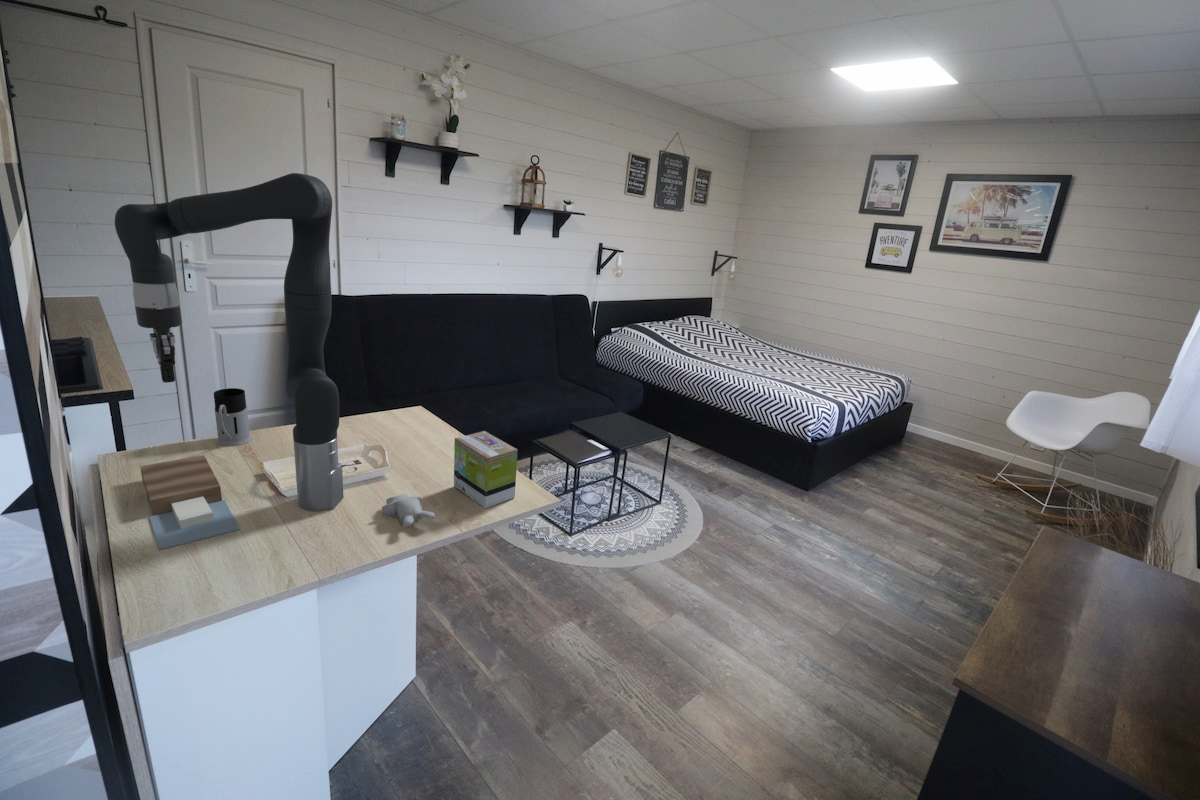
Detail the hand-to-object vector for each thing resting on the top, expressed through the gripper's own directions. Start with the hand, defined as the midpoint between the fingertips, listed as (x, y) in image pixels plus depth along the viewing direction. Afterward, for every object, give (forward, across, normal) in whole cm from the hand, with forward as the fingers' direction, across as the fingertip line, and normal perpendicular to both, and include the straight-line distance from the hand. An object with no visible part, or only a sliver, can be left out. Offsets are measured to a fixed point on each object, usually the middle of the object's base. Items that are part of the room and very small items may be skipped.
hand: (168, 381), depth 123 cm
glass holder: (+29, -28, +15) cm, 43 cm away
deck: (+29, -4, 0) cm, 29 cm away
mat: (+29, +14, 0) cm, 32 cm away
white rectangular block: (+29, +10, 0) cm, 31 cm away
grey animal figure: (+29, +36, +38) cm, 60 cm away
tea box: (+29, +34, +61) cm, 76 cm away
